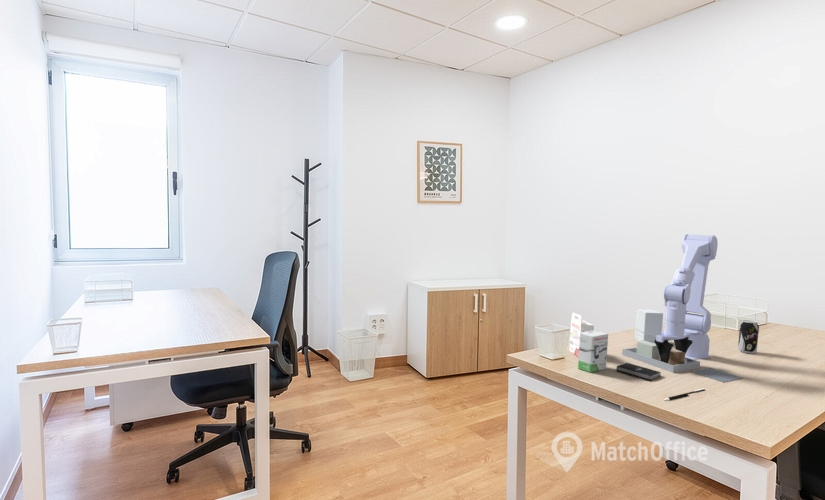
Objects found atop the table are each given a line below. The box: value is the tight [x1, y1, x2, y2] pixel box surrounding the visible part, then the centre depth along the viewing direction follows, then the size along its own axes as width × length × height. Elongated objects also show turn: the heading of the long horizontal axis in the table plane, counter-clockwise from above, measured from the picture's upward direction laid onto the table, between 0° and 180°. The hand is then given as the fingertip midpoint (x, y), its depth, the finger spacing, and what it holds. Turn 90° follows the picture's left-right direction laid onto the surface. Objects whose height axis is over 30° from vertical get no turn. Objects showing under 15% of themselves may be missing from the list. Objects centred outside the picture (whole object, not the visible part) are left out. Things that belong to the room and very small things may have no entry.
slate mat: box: [690, 367, 744, 384], centre depth 139 cm, size 10×10×1 cm
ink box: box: [577, 330, 609, 373], centre depth 143 cm, size 9×5×12 cm, turn 123°
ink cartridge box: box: [568, 311, 595, 358], centre depth 158 cm, size 9×5×15 cm, turn 5°
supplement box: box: [634, 308, 664, 343], centre depth 178 cm, size 7×7×13 cm
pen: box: [663, 387, 706, 402], centre depth 123 cm, size 1×19×1 cm, turn 117°
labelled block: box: [660, 348, 685, 365], centre depth 148 cm, size 4×6×5 cm, turn 24°
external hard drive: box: [616, 362, 662, 382], centre depth 139 cm, size 7×11×2 cm, turn 37°
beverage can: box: [737, 319, 760, 355], centre depth 167 cm, size 6×6×12 cm
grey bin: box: [621, 346, 701, 373], centre depth 152 cm, size 13×19×2 cm
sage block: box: [636, 340, 660, 360], centre depth 156 cm, size 4×6×5 cm, turn 24°
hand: (671, 361), depth 148 cm, fingers open, 7 cm apart
